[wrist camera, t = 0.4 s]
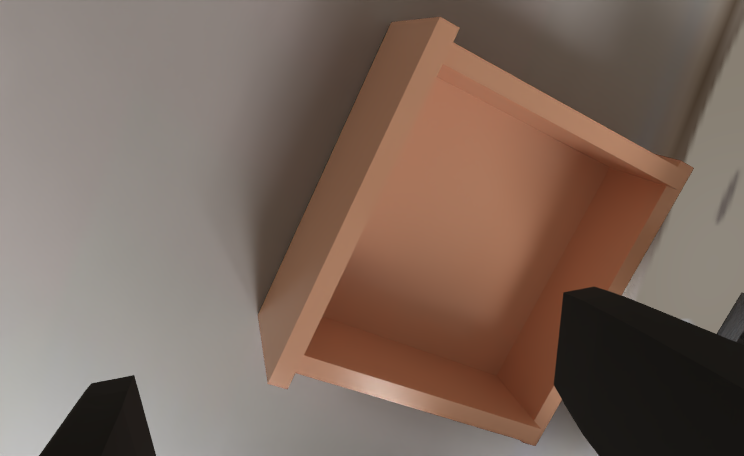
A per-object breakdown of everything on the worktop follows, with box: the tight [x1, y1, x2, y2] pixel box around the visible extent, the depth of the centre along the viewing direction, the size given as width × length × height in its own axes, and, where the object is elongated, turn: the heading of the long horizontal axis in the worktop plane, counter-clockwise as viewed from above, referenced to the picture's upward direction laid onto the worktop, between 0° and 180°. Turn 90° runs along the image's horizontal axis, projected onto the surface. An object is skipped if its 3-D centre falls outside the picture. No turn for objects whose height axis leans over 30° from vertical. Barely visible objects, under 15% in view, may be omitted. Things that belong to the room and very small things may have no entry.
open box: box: [258, 17, 694, 446], centre depth 20 cm, size 11×10×4 cm
